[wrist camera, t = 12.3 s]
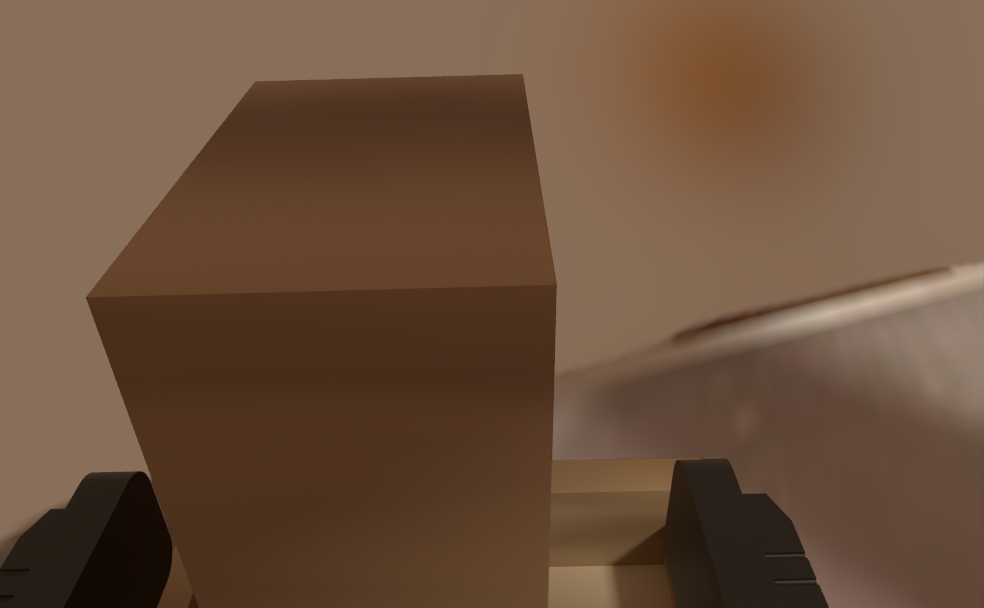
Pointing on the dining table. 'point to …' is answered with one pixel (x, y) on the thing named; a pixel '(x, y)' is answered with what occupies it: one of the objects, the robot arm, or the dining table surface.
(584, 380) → the dining table surface
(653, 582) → the tray
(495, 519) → the walnut block
